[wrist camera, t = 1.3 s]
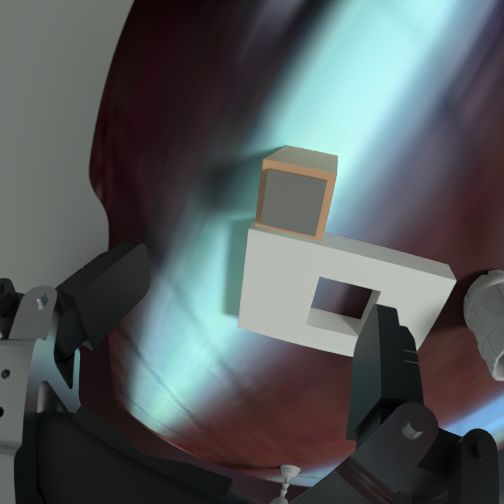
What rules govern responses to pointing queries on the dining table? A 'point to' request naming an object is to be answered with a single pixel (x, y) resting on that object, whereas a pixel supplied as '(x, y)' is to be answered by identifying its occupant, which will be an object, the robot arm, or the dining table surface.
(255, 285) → the socket plate
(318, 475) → the dining table surface
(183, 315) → the dining table surface
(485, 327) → the mug
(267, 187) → the plug
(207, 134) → the dining table surface
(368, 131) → the dining table surface
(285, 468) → the chalice
